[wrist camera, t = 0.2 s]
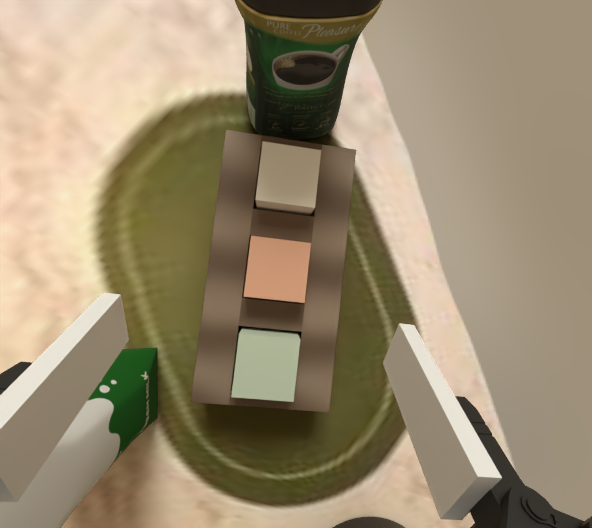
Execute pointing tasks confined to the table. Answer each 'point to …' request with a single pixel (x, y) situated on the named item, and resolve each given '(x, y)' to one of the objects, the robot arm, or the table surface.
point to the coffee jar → (299, 62)
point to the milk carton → (90, 443)
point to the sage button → (266, 364)
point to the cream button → (287, 179)
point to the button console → (266, 312)
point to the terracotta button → (277, 269)
